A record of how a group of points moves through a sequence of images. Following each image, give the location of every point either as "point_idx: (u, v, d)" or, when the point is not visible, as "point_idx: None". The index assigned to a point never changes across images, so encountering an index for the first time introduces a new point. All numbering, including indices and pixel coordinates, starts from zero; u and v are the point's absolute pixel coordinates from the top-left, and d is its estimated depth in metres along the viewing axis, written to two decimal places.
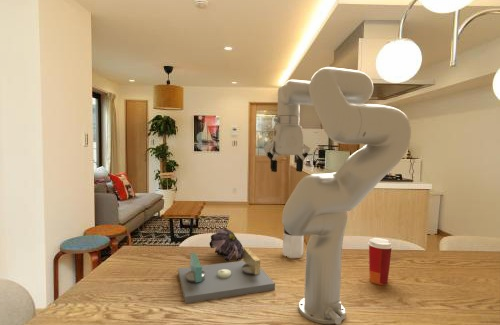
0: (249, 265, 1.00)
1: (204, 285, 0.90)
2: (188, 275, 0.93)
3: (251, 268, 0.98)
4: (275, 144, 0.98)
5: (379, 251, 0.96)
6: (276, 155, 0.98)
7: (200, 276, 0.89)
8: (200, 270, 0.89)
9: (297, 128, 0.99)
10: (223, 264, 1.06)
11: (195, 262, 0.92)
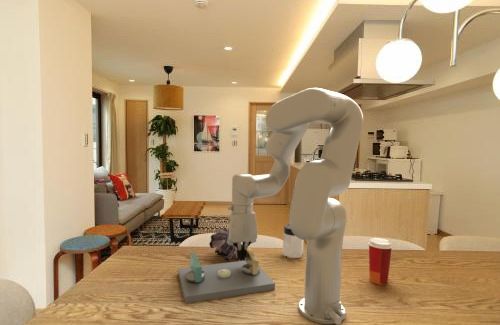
0: (249, 265, 1.00)
1: (204, 285, 0.90)
2: (188, 275, 0.93)
3: (250, 268, 0.98)
4: (229, 232, 1.01)
5: (379, 251, 0.96)
6: (239, 244, 1.02)
7: (200, 276, 0.89)
8: (200, 270, 0.89)
9: (250, 215, 1.02)
10: (223, 264, 1.06)
11: (195, 262, 0.92)
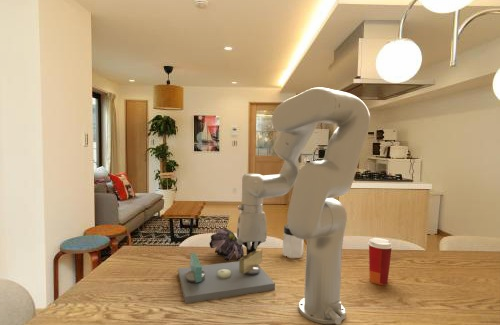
0: None
1: (204, 285, 0.90)
2: (188, 275, 0.93)
3: None
4: (239, 232, 1.01)
5: (379, 251, 0.96)
6: (249, 244, 1.03)
7: (200, 276, 0.89)
8: (200, 270, 0.89)
9: (260, 215, 1.02)
10: (223, 264, 1.06)
11: (195, 262, 0.92)
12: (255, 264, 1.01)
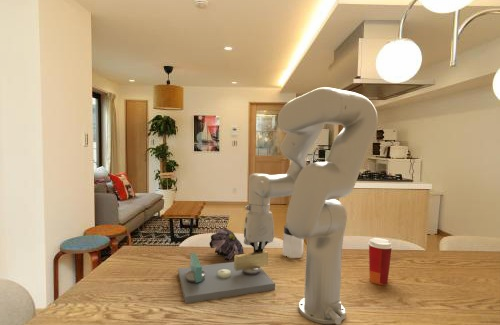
0: None
1: (204, 285, 0.90)
2: (188, 275, 0.93)
3: None
4: (246, 232, 1.01)
5: (379, 251, 0.96)
6: (256, 244, 1.02)
7: (200, 276, 0.89)
8: (200, 270, 0.89)
9: (267, 215, 1.02)
10: (223, 264, 1.06)
11: (195, 262, 0.92)
12: (255, 265, 1.00)
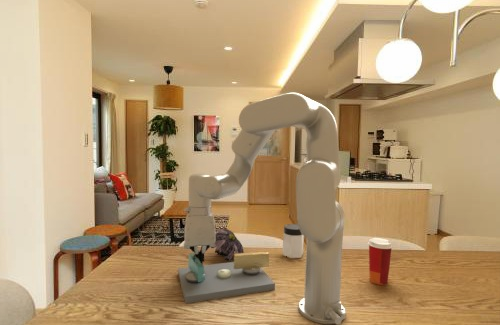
0: None
1: (204, 285, 0.90)
2: (188, 275, 0.93)
3: None
4: (184, 235, 0.96)
5: (379, 251, 0.96)
6: (196, 248, 0.97)
7: (202, 276, 0.89)
8: (202, 270, 0.89)
9: (207, 218, 0.97)
10: (223, 264, 1.06)
11: (196, 262, 0.92)
12: (255, 266, 1.00)
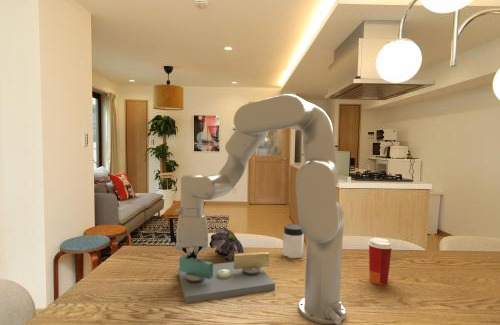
0: None
1: (204, 285, 0.90)
2: (192, 277, 0.92)
3: None
4: (176, 237, 0.95)
5: (379, 251, 0.96)
6: (188, 250, 0.96)
7: (212, 272, 0.92)
8: (212, 266, 0.92)
9: (200, 219, 0.96)
10: (223, 264, 1.06)
11: (200, 261, 0.93)
12: (255, 266, 1.00)
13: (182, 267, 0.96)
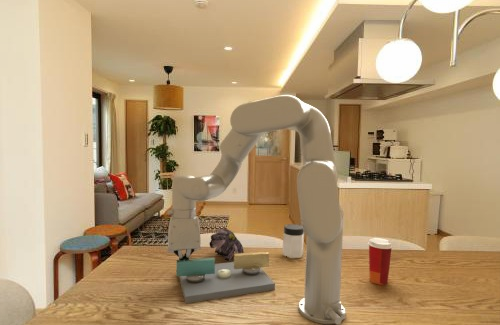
0: None
1: (204, 285, 0.90)
2: (197, 276, 0.92)
3: None
4: (168, 239, 0.92)
5: (379, 251, 0.96)
6: (180, 252, 0.94)
7: None
8: None
9: (192, 221, 0.93)
10: (223, 264, 1.06)
11: (202, 260, 0.94)
12: (255, 266, 1.00)
13: (180, 271, 0.92)
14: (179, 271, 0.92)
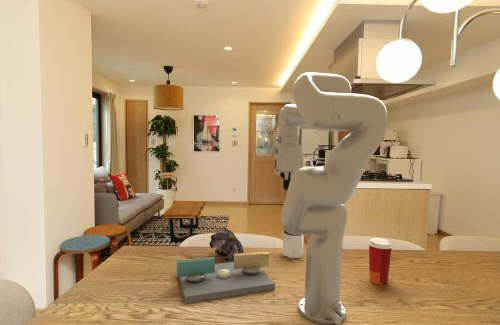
0: None
1: (204, 285, 0.90)
2: (198, 276, 0.92)
3: None
4: (277, 162, 1.07)
5: (379, 251, 0.96)
6: (286, 174, 1.08)
7: None
8: None
9: (297, 147, 1.07)
10: (223, 264, 1.06)
11: (202, 259, 0.94)
12: (255, 266, 1.00)
13: (181, 272, 0.92)
14: (179, 272, 0.92)
